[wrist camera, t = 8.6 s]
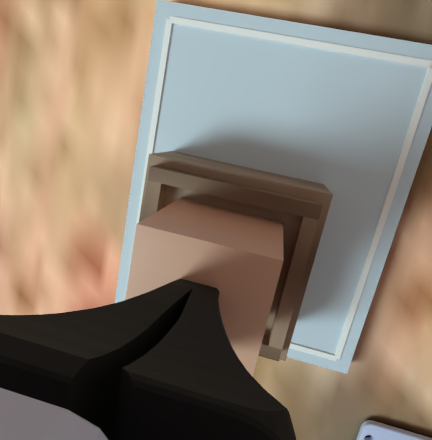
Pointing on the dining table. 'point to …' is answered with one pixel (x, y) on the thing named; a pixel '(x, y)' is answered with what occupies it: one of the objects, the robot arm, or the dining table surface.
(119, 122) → the dining table surface
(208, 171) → the frame
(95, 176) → the dining table surface
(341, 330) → the board
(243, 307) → the terracotta block
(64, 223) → the dining table surface
